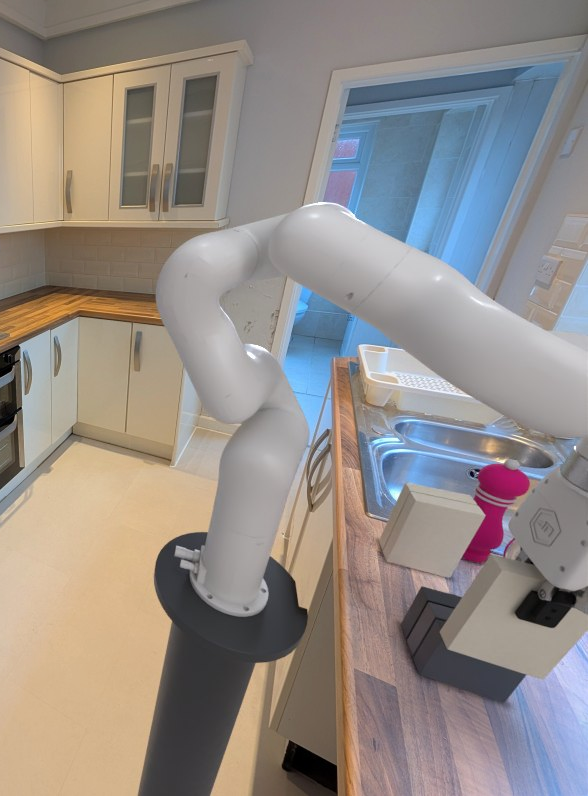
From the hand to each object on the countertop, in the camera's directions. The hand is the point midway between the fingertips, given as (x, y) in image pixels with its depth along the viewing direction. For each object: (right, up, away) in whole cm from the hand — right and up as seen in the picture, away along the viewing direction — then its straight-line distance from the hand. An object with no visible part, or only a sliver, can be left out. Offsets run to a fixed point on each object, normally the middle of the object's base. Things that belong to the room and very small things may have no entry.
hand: (525, 608), depth 48 cm
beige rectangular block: (+12, -6, +28) cm, 31 cm away
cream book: (0, -8, +4) cm, 9 cm away
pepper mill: (+23, -5, +30) cm, 39 cm away
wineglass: (+21, -10, +21) cm, 32 cm away
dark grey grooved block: (+3, -14, +12) cm, 18 cm away
